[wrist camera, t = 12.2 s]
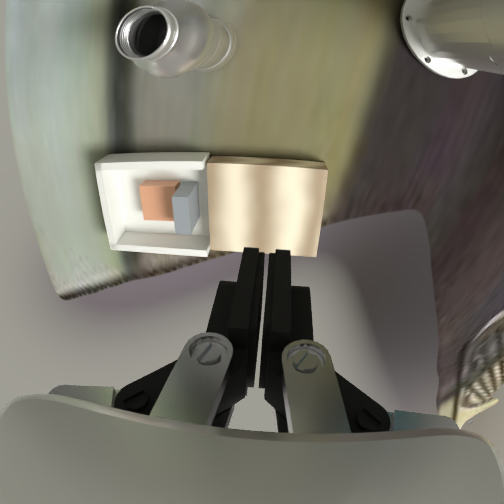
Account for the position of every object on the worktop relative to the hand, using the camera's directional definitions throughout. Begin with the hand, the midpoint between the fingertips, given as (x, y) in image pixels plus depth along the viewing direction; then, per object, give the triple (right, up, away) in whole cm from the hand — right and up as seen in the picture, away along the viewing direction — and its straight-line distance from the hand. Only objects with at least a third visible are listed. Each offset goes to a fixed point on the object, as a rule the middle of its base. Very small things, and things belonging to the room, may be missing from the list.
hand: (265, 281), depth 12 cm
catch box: (-13, +9, +31) cm, 34 cm away
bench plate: (+1, +8, +30) cm, 31 cm away
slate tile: (-8, +7, +28) cm, 30 cm away
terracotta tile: (-13, +7, +29) cm, 32 cm away
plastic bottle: (-5, +25, +19) cm, 32 cm away
